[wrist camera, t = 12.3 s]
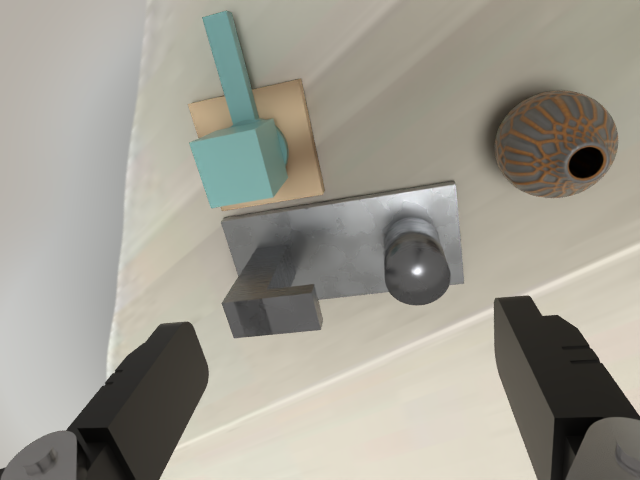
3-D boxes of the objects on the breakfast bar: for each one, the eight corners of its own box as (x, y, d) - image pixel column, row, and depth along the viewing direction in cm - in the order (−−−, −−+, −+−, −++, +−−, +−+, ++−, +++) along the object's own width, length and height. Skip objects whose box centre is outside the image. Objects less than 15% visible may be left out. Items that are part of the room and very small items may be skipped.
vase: (494, 190, 33) (530, 233, 25) (477, 106, 30) (511, 123, 23) (588, 164, 31) (659, 202, 23) (578, 72, 29) (654, 79, 21)
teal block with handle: (254, 6, 29) (223, -6, 23) (295, 176, 33) (278, 200, 28) (186, 24, 30) (142, 17, 24) (236, 187, 34) (208, 212, 29)
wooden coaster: (194, 102, 33) (187, 104, 32) (300, 78, 31) (298, 79, 30) (226, 206, 36) (221, 211, 35) (324, 190, 35) (322, 194, 34)
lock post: (224, 217, 37) (174, 270, 28) (453, 180, 33) (482, 228, 24) (251, 301, 40) (214, 372, 31) (462, 277, 36) (489, 351, 27)
